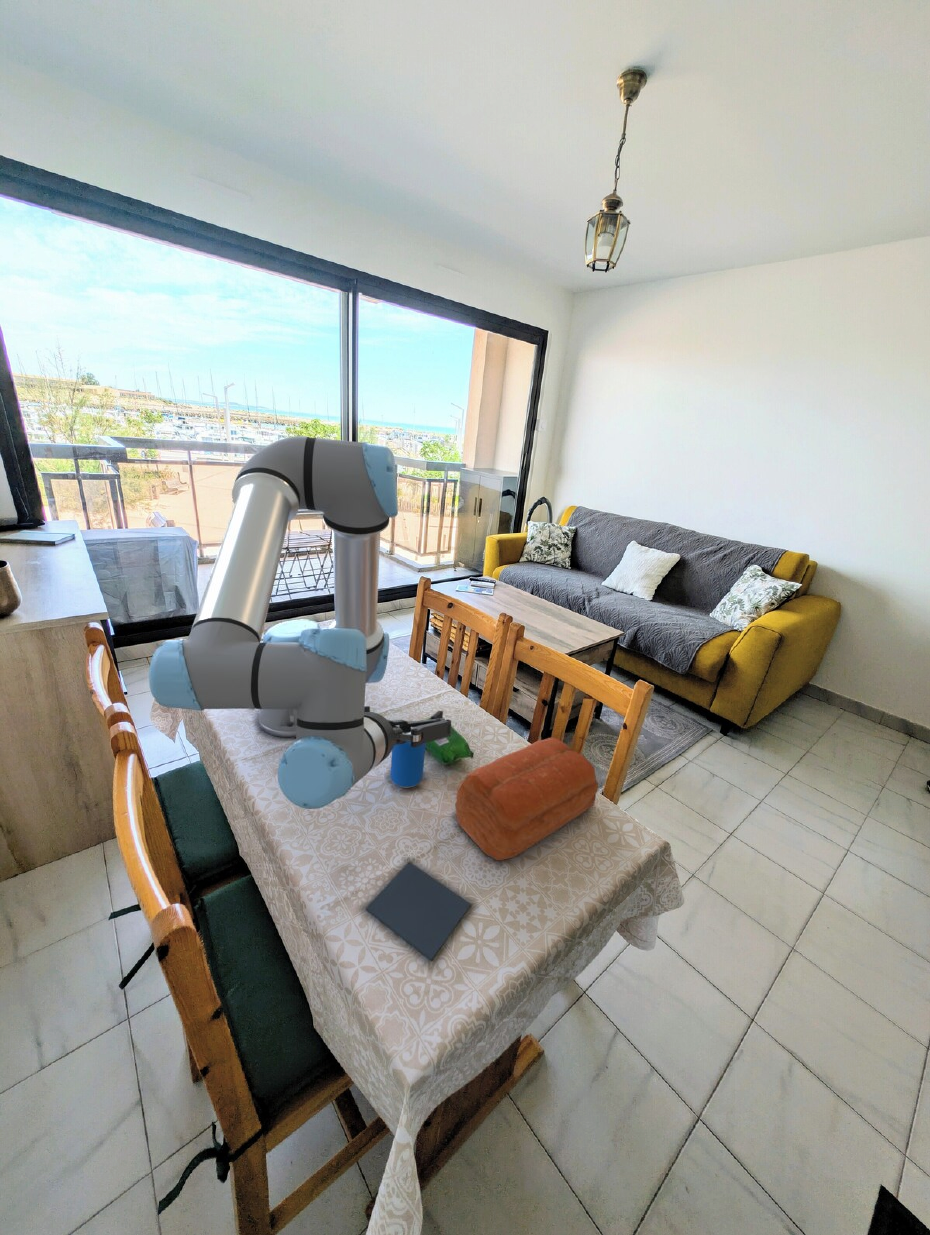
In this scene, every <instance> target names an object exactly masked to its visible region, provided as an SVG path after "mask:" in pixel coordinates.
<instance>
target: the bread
mask: <svg viewBox="0 0 930 1235" xmlns="http://www.w3.org/2000/svg"><path fill="white" fill-rule="evenodd" d="M598 790H599V782H598V780H597V775H596V770H595V766H594V765H593V764H592V763H591V762H589V760H588V759H587V758H586V757H585V756H584V755H582V754H580V753H578V752H576V751H574V750H572V749H571V748H570V746H568V745H567V744H566V743H564V742H563V741H562V740H560V739H559V738H555V737H547V738H545V739H541V740H536V741H535V742H532V743H531V744H529V745H527V746H525V747H523V748H521V749H519V750H517V751H514V752H511V753H508V754H506V755H503V756H501V757H499V758H497V759H495V760H494V761H492V762H491V763H489V764H488V763H487V764H486V765H482V766H480V767H478V768H475V769H473V771H471V772H469V773H468V774H467V775H466V777H465V779H464V780H462V781H460V784H459V786H458V788H457V790H456V801H455V804H454V807H455V812H456V818H457V823H458V824H457V825H459V826H460V827H461V828H462V830H463V831H464V832H465V833H466V834H467V835H468V836H469V837H470V839H471V840H472V841H473V842H474V843H475V844H476V845H477V847H478V848H480V850H482V852H483V853H484V854H485V855H487V856H488V857H490V858H492V859H494V860H496V861H497V862H498V861H503V860H506V859H512V858H515V857H517V856H518V855H520V854H522V853H523V852H524V851H526V850H528V849H530V848H531V847H533V846H534V845H536V844H538V843H539V842H540V841H542V840H543V839H545V838H547V837H548V836H550V835H552V834H553V833H554V832H556V831H558V830H559V829H560V828H562V827H563V826H565V825H567V824H568V823H570V822H571V821H573V820H574V819H576V818H577V817H578V816H580V815H582V814H583V813H585V812H586V811H588V810H589V809H591V807H592V806H593V805H594V804H595V801H596V795H597V793H598Z"/></svg>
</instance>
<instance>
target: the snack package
mask: <svg viewBox="0 0 930 1235" xmlns="http://www.w3.org/2000/svg"><path fill="white" fill-rule="evenodd" d="M429 719H431V717H428V718H426V719H425V720H429ZM425 749H426V750H427V751H428V752H429V753H430V754H431V755H432V756H433V757H434V758H435V759H436V760H437V761H438V762H439V763H441V764H442V765H445V766H446V765H448V764H449V765H452V764H454V763H455V762H457V761H459V760H461V759H467V758H471V759H474V754H475V753H474V751H472V750H471V748H470V745H469V743H468V742H467V740H466V739H465V737H464V736H462V735H461V734H460V733H459V731H457V730H456V729H455V728H454V727H453V726H452V725H451V736H449V737H445V738H442V739H438V740H434V741H431V742H427V743H426V745H425Z"/></svg>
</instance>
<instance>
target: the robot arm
mask: <svg viewBox="0 0 930 1235" xmlns="http://www.w3.org/2000/svg"><path fill="white" fill-rule="evenodd" d="M397 487H398V486H397V473H396V463H395V455H394V452H393V451H392V450H391V449H390V448H389V447H387V446H385V445H381V444H375V443H369V442H368V441H363V442H362V441H361V442H360V441H350V440H341V439H333V438H332V439H331V438H320V437H311V436H304V435H296V436H295V435H294V436H287V437H284V438H281V439H278V440H275V441H274V442H271V443H270V444H267V445H265V446H264V447H263V448H261V449H260V450H258V451H257V452H256V453H255V454H253V455H252V456H251V457H250V458H249V459H248V460H247V461H246V462H245V464H243V466H242V468H241V469H239V472H238V473H237V474H236V478H235V480H234V483H233V484H232V489H231V498H232V501H233V503H234V505H233V508H232V512H231V514H230V517H229V521H228V523H227V526H226V530H225V532H224V535H223V538H222V540H221V543H220V546H219V549H218V552H217V554H216V558H215V561H214V564H213V566H212V569H211V573H210V575H209V578H208V581H207V584H206V587H205V590H204V592H203V595H202V598H201V600H200V603H199V607H198V608H197V609H198V610H197V612H196V615H195V618H194V620H193V623H192V626H191V630H190V633H189V635H188V637H187V639H184V638H178V639H170V640H164V641H163V642H161V644H160V646H159V647H157V648H156V649H155V651H154V652H153V655H152V657H151V660H150V665H149V671H148V685H149V689H150V690H149V691H150V694H151V696H152V697H153V698H154V700H155V702H156V703H157V704H158V705H159V706H162V707H164V708H170V709H181V710H191V711H192V710H193V711H201V712H203V711H204V710H236V709H237V710H240V709H241V710H242V709H245V710H246V709H247V710H249V709H251V710H252V709H253V710H254V709H256V710H258V713H257V714H258V715H257V720H258V726H259V728H260V729H261V730H262V731H263V732H264V733H267V734H268V735H271V736H274V737H279V738H295V742H292V744H291V745H290V746H289V747H288V748H287V749H286V750H285V751H284V752H283V755H282V756H281V758H280V761H279V763H278V766H277V774H276V775H277V782H278V785H279V788H280V790H281V792H282V794H283V795H284V797H285V798H286V799H287V800H288V801H289V802H291V803H292V804H293V805H295V806H297V807H299V808H301V809H306V810H315V809H316V810H317V809H321V808H324V807H326V806H328V805H330V804H331V803H333V802H335V801H336V800H337V799H340V798H342V797H344V796H345V795H346V794H348V793H349V791H351V788H353V786H354V785H356V784H357V783H358V782H360V780H361V779H363V778H364V777H366V776H367V775H368V774H369V773H370V772H371V771H372V770H374V769H375V768H376V767H378V766H379V765H380V764H381V763H382V762H383V761H385V760H387V758H388V757H389V756H390V754H392V749H393V747H394V745H397V744H404V743H406V742H407V741H410V746H411V747H418V746H420V745H421V744H424V743H427V742H431V741H434V740H438V739H442V738H445V737H449V736H451V726H452V720H451V719H449V718H448V719H446V718H445V717H443V716H444V711H443V710H438V711H436V712H435V713H434V714H433V715H431V716H430V718H431V719H429V718H428V719H429V720H426V719H421V720H412V721H413V722H407V721H408V720H404V719H395V720H390V719H387V718H386V717H385V716H384V715H382V714H380V713H378V712H374V711H371V706H370V705H369V706H368V705H366V686H367V684H372V683H379V682H380V681H382V680H383V678H384V677H385V674H386V670H387V664H388V657H389V650H390V634H389V633H388V632H387V631H384V629H383V626H382V624H381V623H380V622H379V621H378V597H379V576H380V575H379V573H380V572H379V571H380V551H381V550H380V549H381V532H384V530H386V529H387V528H388V526H389V525H390V519H392V518H395V517H397V516H398V514H399V505H398V488H397ZM299 510H308V511H315V512H317V511H318V512H322V522H323V524H324V525H325V526H326V527H327V528H328V529H330V530H331V535H332V536H331V537H332V565H333V568H332V569H333V595H334V596H333V597H334V621H333V622H332V623H331V624H330V626H329V627H320V625H319V623H318V622H317V621H314V620H311V619H291V620H286V621H283V622H279V623H277V624H274V625H275V626H273V627H271V628H270V629H269V630H268V631H267V632H266V633H265V635H264V634H263V631H264V629H265V624H266V620H267V616H268V612H269V607H270V603H271V599H272V593H273V589H274V586H275V581H276V577H277V573H278V568H279V565H280V559H281V555H282V551H283V546H284V542H285V538H286V533H287V530H288V526H289V523H290V522H291V521H293V519H295V517H296V516H297V514H298V512H299ZM262 637H263V638H262ZM261 639H263V641H261ZM397 725H399V727H397Z"/></svg>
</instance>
